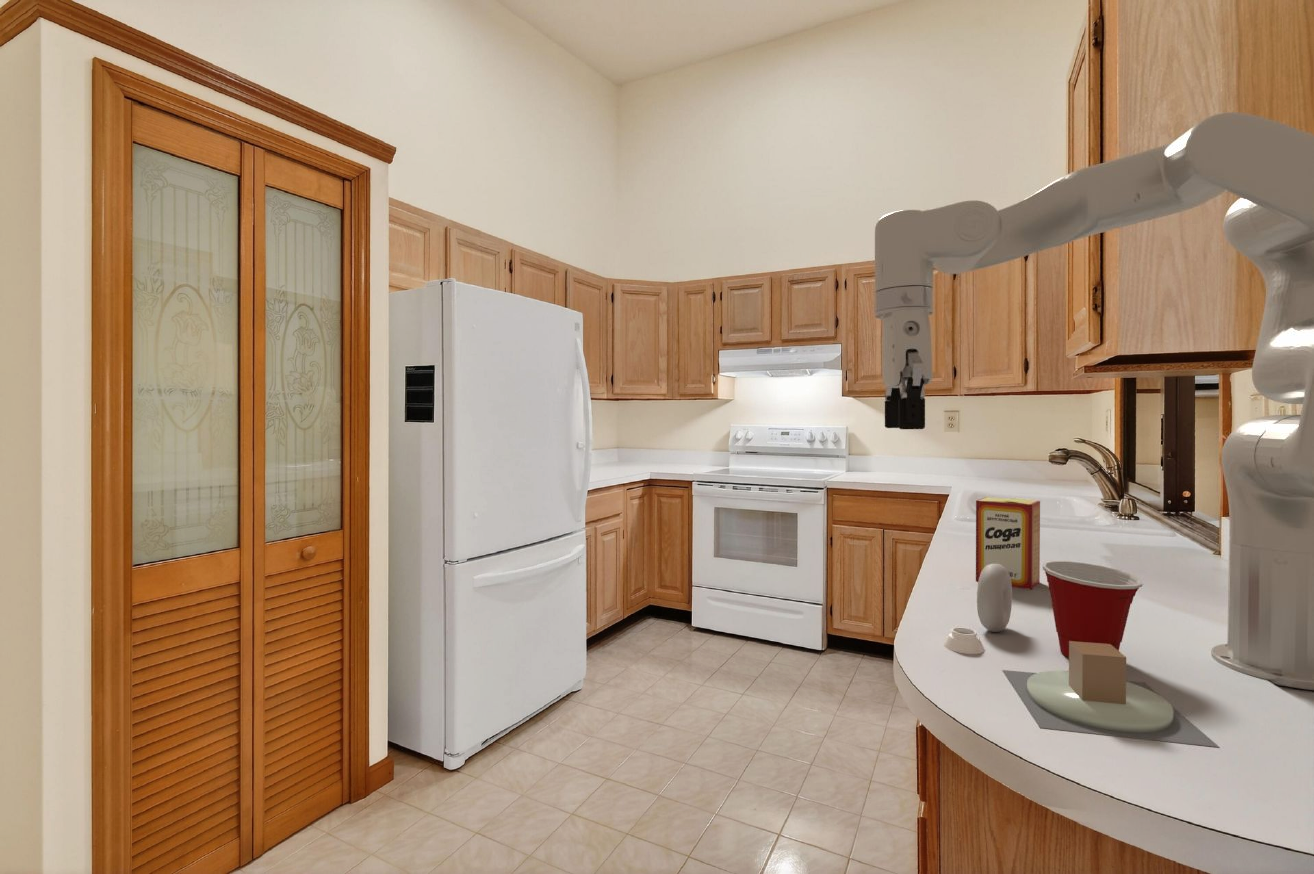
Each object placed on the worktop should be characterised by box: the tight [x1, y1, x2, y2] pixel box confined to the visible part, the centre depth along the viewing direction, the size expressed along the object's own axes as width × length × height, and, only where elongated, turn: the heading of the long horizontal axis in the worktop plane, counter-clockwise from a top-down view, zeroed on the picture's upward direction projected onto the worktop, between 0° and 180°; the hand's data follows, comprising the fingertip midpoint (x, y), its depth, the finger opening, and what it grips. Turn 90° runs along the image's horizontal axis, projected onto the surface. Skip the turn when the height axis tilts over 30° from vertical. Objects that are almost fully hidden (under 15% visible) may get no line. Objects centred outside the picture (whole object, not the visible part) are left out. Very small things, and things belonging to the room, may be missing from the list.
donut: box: [976, 564, 1013, 633], centre depth 94 cm, size 10×4×10 cm, turn 141°
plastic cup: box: [1042, 560, 1144, 659], centre depth 82 cm, size 11×11×12 cm
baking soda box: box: [975, 496, 1041, 591], centre depth 121 cm, size 10×6×16 cm
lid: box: [1027, 641, 1173, 733], centre depth 69 cm, size 13×13×6 cm
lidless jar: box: [943, 626, 986, 655], centre depth 86 cm, size 5×3×5 cm
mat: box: [1001, 669, 1221, 749], centre depth 69 cm, size 15×15×1 cm
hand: (903, 428), depth 88 cm, fingers open, 9 cm apart
